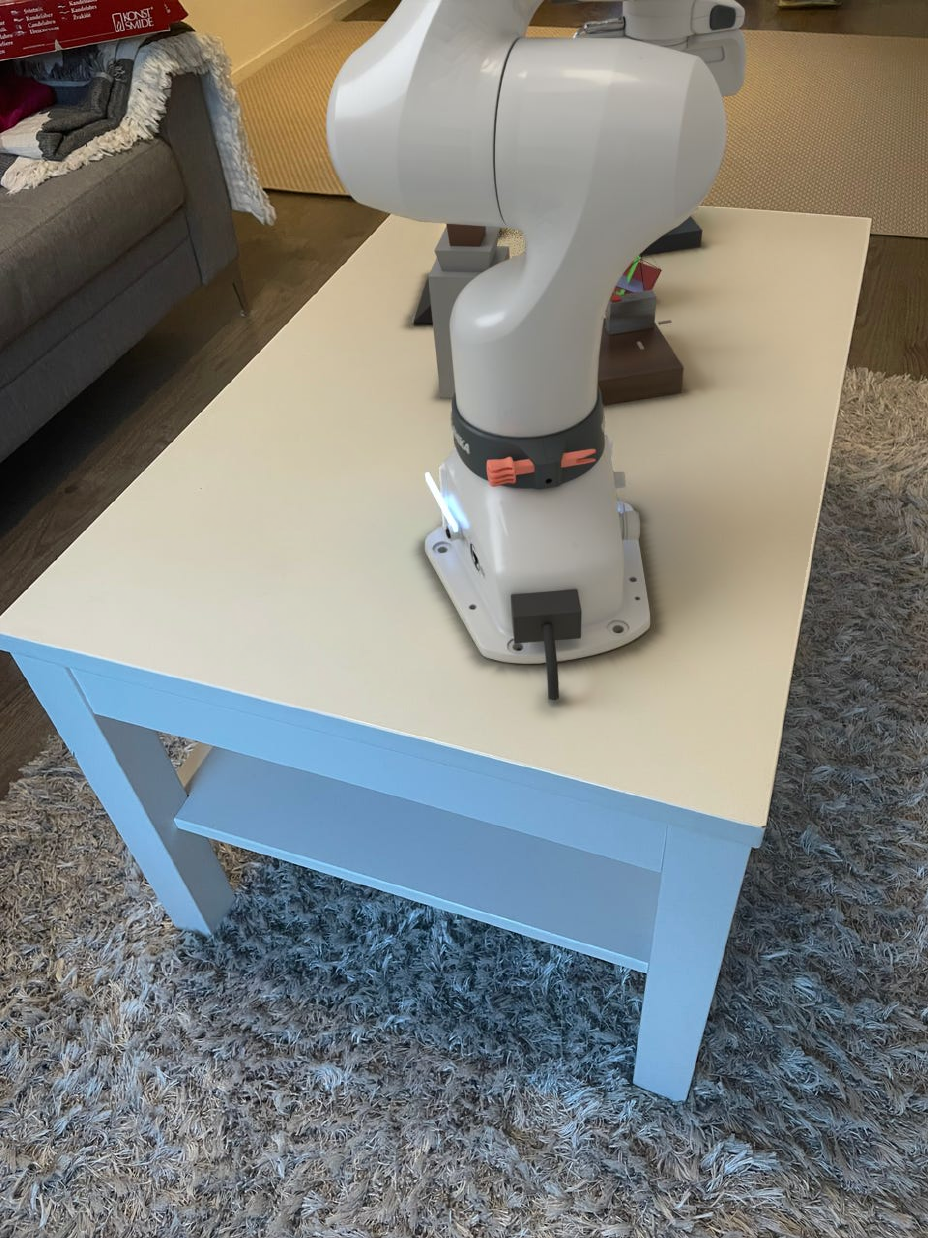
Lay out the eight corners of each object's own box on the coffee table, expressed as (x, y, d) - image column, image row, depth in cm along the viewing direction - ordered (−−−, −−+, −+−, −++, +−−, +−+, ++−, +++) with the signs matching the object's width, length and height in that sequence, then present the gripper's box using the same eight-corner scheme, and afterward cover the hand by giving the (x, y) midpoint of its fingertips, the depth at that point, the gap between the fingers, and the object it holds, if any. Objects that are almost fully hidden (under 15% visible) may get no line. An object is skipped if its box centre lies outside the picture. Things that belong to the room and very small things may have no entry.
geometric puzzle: (671, 270, 114) (633, 217, 110) (674, 298, 109) (634, 244, 105) (621, 305, 117) (582, 255, 113) (621, 333, 113) (580, 282, 109)
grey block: (649, 320, 104) (652, 287, 101) (654, 327, 103) (657, 294, 100) (605, 327, 104) (606, 294, 101) (609, 335, 103) (610, 301, 100)
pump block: (700, 246, 122) (704, 215, 119) (624, 258, 121) (625, 226, 118) (670, 209, 130) (672, 178, 127) (598, 219, 130) (599, 189, 127)
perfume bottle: (503, 400, 101) (494, 231, 88) (440, 397, 102) (423, 229, 89) (513, 366, 105) (507, 200, 92) (453, 363, 107) (439, 199, 94)
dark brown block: (696, 390, 100) (699, 363, 97) (587, 407, 99) (588, 380, 96) (655, 326, 109) (657, 300, 107) (555, 342, 108) (555, 316, 106)
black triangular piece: (472, 326, 112) (469, 289, 109) (410, 326, 113) (406, 289, 110) (484, 275, 121) (481, 239, 117) (426, 275, 122) (422, 240, 118)
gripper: (578, 30, 105) (577, 163, 115) (759, 8, 106) (742, 140, 116) (564, 16, 109) (564, 144, 119) (738, -6, 111) (723, 123, 120)
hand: (653, 142), depth 117 cm, fingers closed
